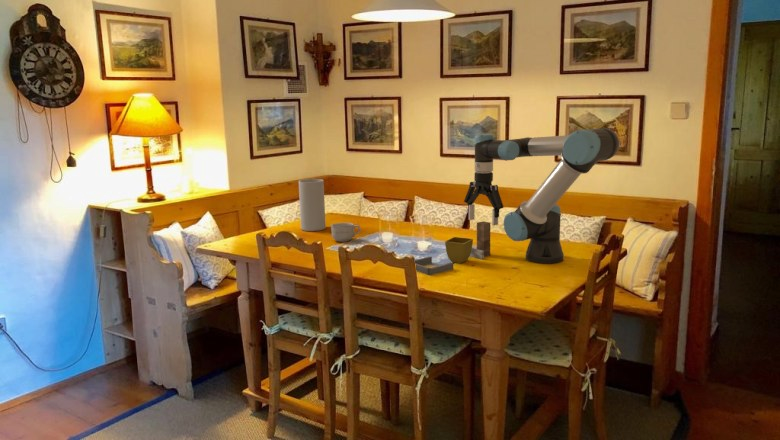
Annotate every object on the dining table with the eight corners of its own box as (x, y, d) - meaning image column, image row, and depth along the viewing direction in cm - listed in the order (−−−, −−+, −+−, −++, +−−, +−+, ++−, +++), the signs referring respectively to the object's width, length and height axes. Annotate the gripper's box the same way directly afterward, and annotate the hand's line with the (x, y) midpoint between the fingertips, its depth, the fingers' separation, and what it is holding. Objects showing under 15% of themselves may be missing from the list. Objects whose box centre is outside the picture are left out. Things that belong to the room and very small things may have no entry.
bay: (453, 269, 251) (453, 263, 251) (429, 275, 244) (429, 269, 243) (429, 262, 262) (429, 256, 262) (406, 267, 255) (406, 261, 254)
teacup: (327, 242, 300) (326, 225, 298) (338, 237, 310) (337, 221, 308) (354, 244, 295) (354, 227, 293) (364, 239, 305) (363, 222, 303)
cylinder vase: (324, 231, 323) (321, 182, 318) (299, 231, 323) (296, 182, 318) (326, 226, 335) (324, 178, 330) (303, 226, 335) (300, 179, 330)
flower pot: (464, 265, 257) (464, 243, 255) (444, 262, 261) (444, 241, 259) (473, 260, 264) (473, 238, 262) (454, 257, 268) (454, 236, 267)
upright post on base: (494, 256, 269) (494, 223, 266) (481, 259, 264) (481, 226, 261) (479, 252, 276) (479, 220, 273) (466, 255, 271) (466, 223, 268)
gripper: (456, 169, 271) (455, 218, 276) (500, 175, 252) (499, 228, 256) (468, 168, 276) (468, 216, 280) (512, 174, 256) (511, 225, 261)
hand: (483, 222), depth 268 cm, fingers open, 13 cm apart
